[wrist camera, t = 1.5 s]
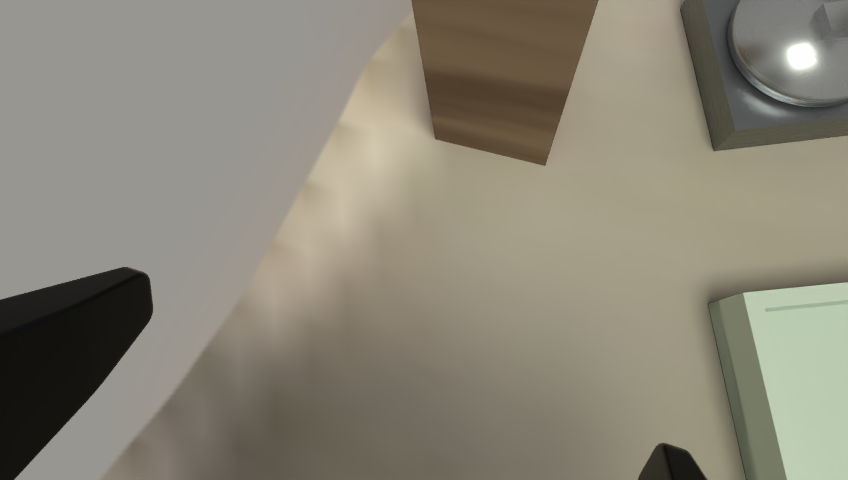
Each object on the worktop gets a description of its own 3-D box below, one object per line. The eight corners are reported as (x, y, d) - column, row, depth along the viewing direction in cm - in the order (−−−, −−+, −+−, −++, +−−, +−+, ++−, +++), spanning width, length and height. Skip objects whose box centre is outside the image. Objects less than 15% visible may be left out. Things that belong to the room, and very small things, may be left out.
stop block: (545, 165, 24) (619, -64, 12) (435, 139, 25) (393, -103, 12) (571, 65, 25) (665, -244, 13) (465, 43, 26) (455, -270, 13)
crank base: (714, 150, 24) (735, 130, 22) (680, 9, 25) (697, -21, 23) (885, 130, 23) (923, 108, 21) (839, -12, 25) (870, -45, 23)
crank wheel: (746, 116, 22) (810, 54, 18) (712, -15, 23) (764, -100, 19) (907, 96, 21) (1012, 28, 17) (862, -35, 23) (948, -127, 19)
